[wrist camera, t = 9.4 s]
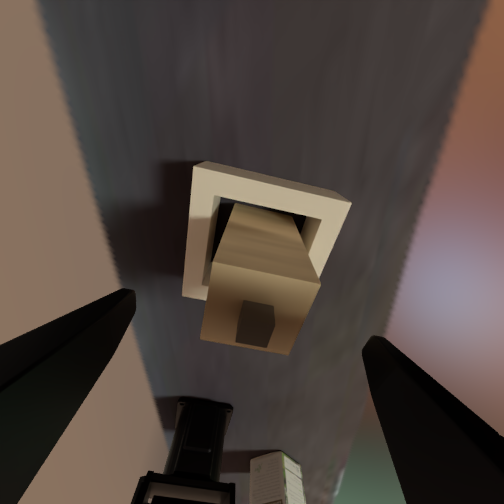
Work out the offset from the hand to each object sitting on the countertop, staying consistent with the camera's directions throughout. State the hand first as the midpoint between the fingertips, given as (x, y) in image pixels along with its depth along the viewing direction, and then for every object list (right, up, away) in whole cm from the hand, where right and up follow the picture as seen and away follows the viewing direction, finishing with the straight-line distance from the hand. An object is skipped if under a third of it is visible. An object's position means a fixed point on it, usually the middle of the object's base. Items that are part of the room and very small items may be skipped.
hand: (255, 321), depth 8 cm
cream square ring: (0, +4, +8) cm, 9 cm away
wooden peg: (0, +4, +8) cm, 9 cm away
